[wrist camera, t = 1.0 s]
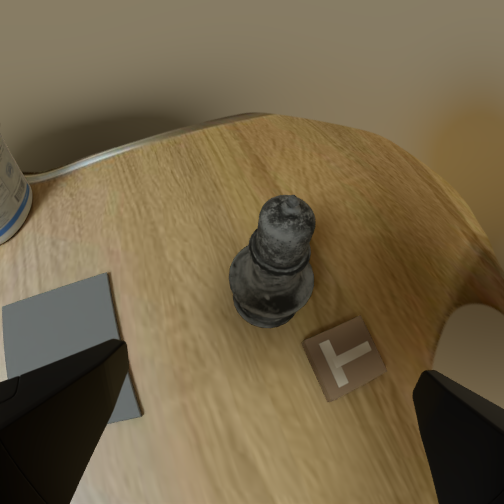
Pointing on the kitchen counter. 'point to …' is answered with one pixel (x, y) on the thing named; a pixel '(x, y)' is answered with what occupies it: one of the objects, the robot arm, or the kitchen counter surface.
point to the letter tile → (344, 358)
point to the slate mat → (64, 332)
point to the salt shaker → (275, 264)
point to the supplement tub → (12, 194)
